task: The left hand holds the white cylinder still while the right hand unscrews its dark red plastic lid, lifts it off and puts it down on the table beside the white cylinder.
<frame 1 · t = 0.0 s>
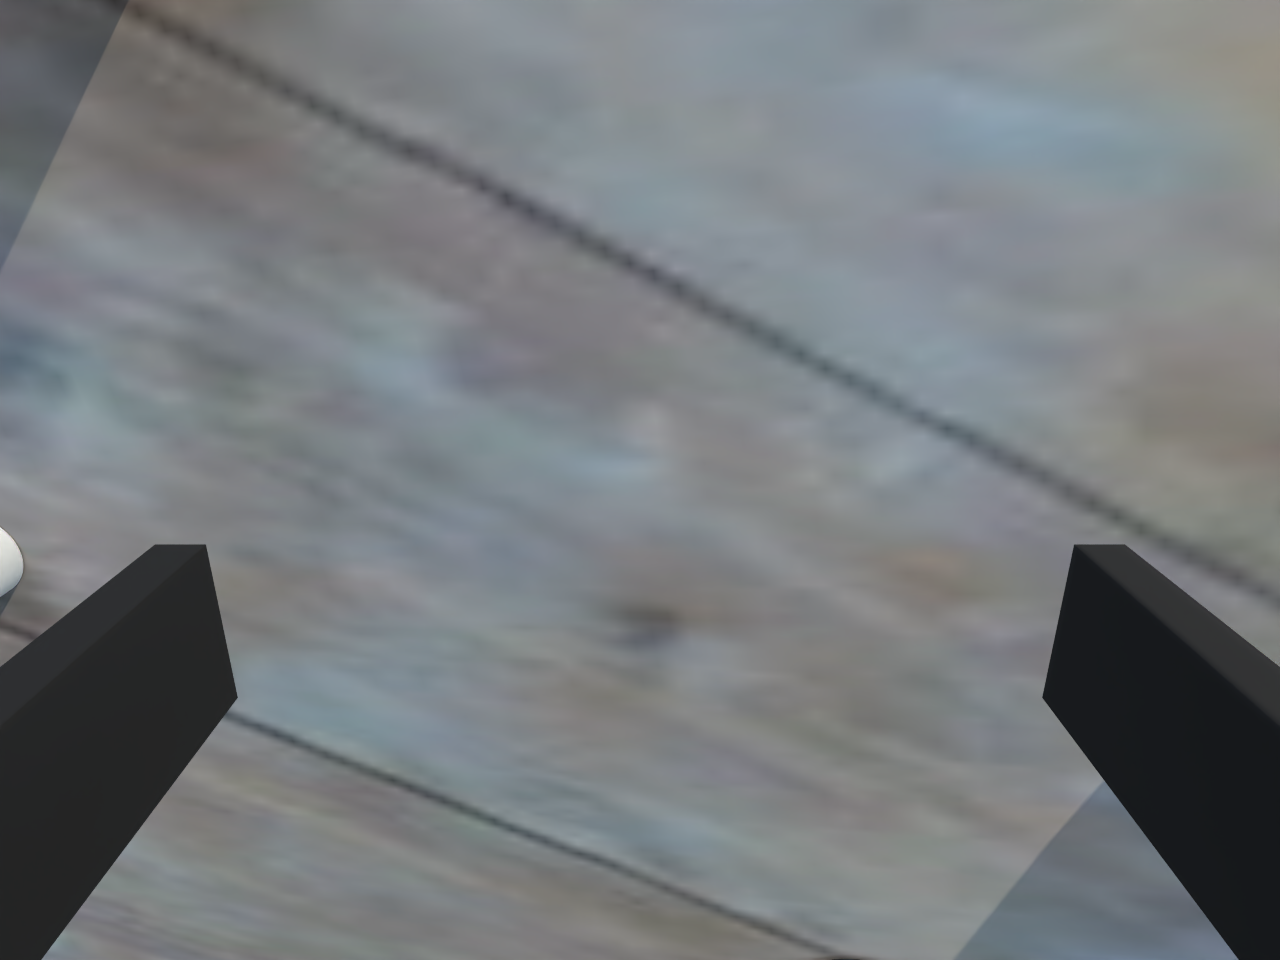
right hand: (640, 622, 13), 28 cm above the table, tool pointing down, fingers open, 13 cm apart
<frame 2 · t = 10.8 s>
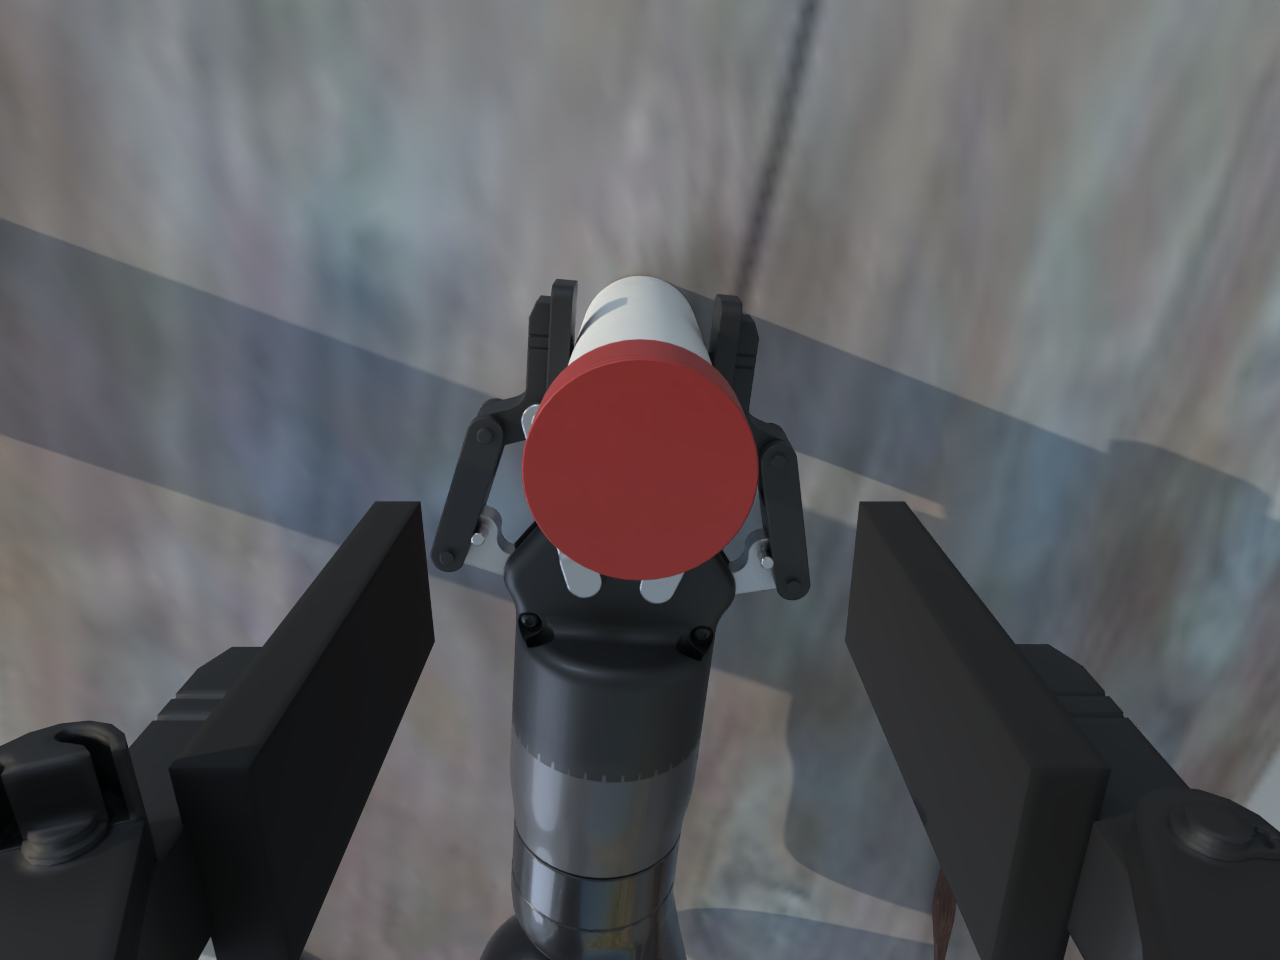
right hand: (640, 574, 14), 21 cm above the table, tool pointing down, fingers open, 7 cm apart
left hand: (646, 292, 27), fingers closed on white cylinder, 4 cm apart
fork: (942, 864, 44), on the table
lid: (640, 470, 19), point 16 cm above the table, screwed on, not yet turned
white cylinder: (639, 334, 34), on the table, touching left hand
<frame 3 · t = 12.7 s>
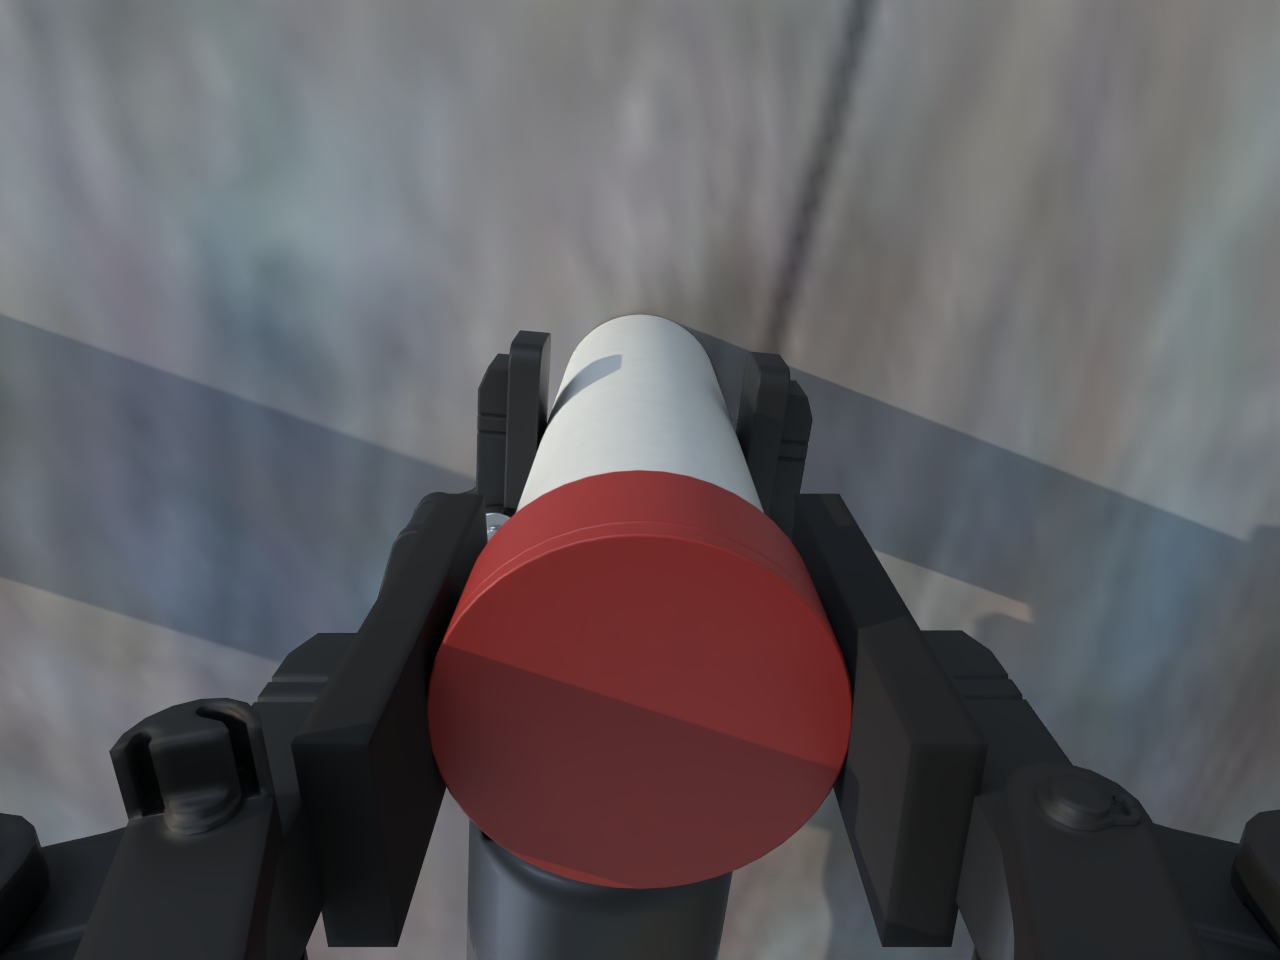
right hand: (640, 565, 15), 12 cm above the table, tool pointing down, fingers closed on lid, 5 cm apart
lid: (639, 711, 11), point 16 cm above the table, screwed on, not yet turned, touching right hand
white cylinder: (639, 390, 26), on the table, touching left hand
when the right hand's fingers open (0 cm above the table, at t = 22.4 s): lid drops 2 cm, point 2 cm above the table.
when the left hand's fingers open (7 cm above the table, at t = 23.6 s): white cylinder stays where it is, on the table.
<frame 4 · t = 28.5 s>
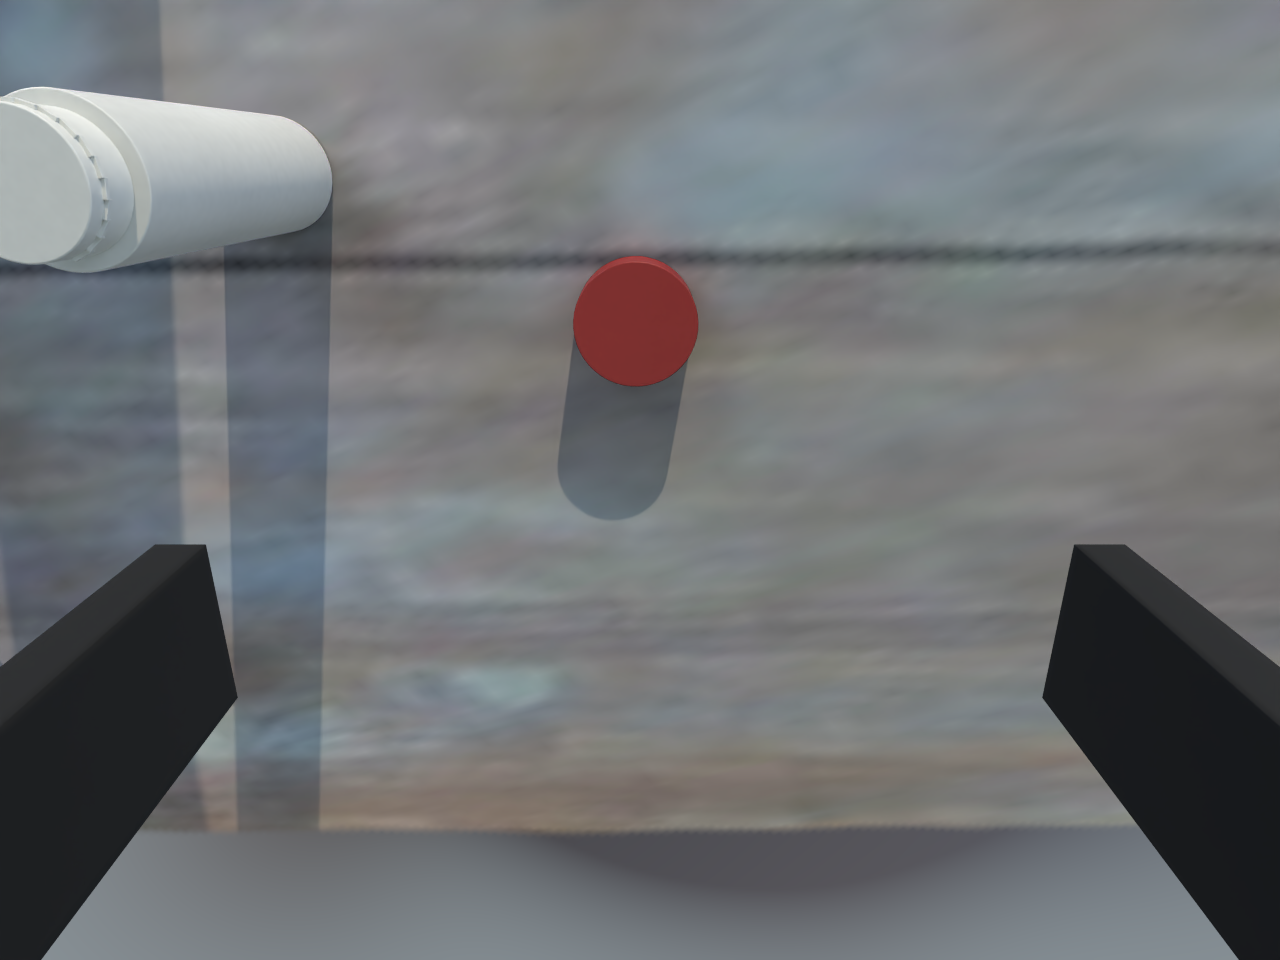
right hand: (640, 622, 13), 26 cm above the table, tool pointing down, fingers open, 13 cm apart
lid: (635, 324, 36), point 2 cm above the table, off its thread
white cylinder: (277, 175, 35), on the table
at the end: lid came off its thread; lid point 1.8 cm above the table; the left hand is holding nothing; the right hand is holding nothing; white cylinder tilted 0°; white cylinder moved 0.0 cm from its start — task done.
